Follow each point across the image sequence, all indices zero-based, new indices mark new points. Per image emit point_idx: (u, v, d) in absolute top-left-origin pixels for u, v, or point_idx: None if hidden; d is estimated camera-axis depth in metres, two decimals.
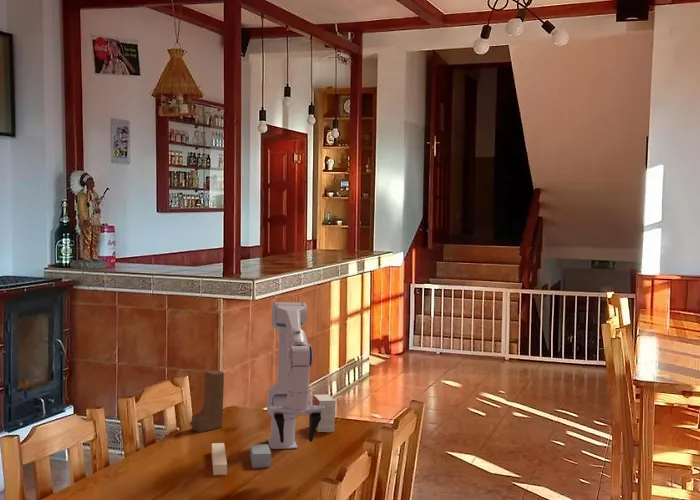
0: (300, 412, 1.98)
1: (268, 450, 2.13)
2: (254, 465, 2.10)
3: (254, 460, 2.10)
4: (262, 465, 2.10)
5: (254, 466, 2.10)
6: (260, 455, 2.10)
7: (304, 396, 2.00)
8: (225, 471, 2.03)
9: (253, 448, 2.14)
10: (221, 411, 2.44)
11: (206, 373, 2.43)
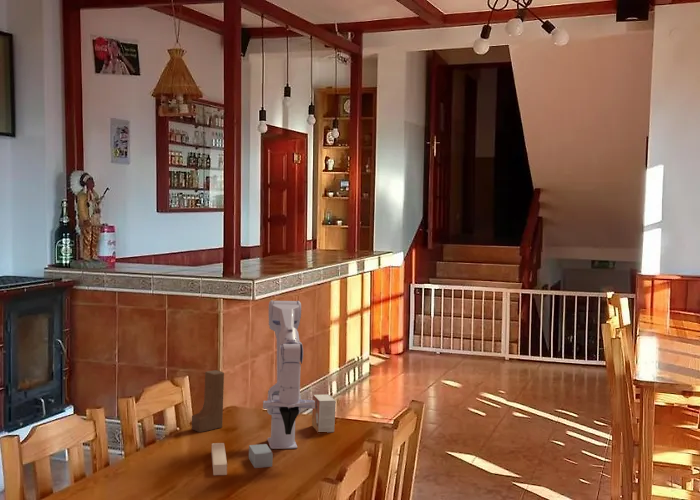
0: (291, 406, 2.11)
1: (268, 450, 2.13)
2: (256, 465, 2.10)
3: (256, 460, 2.09)
4: (264, 465, 2.10)
5: (256, 466, 2.10)
6: (262, 455, 2.10)
7: (295, 391, 2.12)
8: (225, 471, 2.03)
9: (253, 448, 2.14)
10: (221, 411, 2.44)
11: (206, 373, 2.43)
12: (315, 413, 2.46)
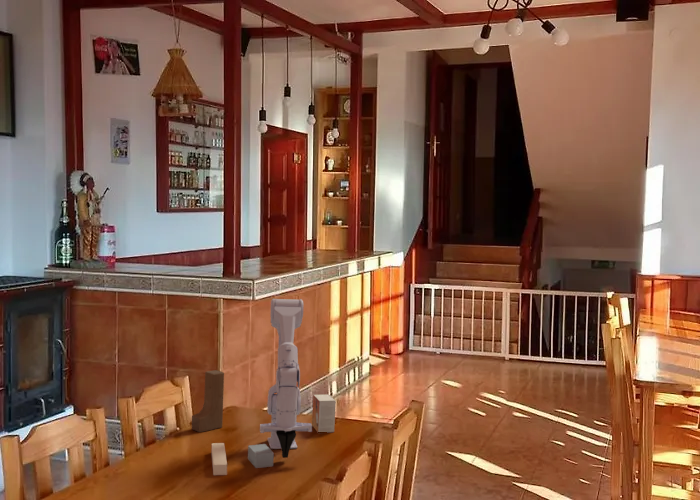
0: (288, 430, 2.11)
1: (269, 450, 2.13)
2: (257, 465, 2.10)
3: (257, 460, 2.09)
4: (265, 465, 2.10)
5: (257, 466, 2.10)
6: (263, 455, 2.10)
7: (292, 414, 2.12)
8: (225, 471, 2.03)
9: (253, 448, 2.14)
10: (221, 411, 2.44)
11: (206, 373, 2.43)
12: (315, 413, 2.46)
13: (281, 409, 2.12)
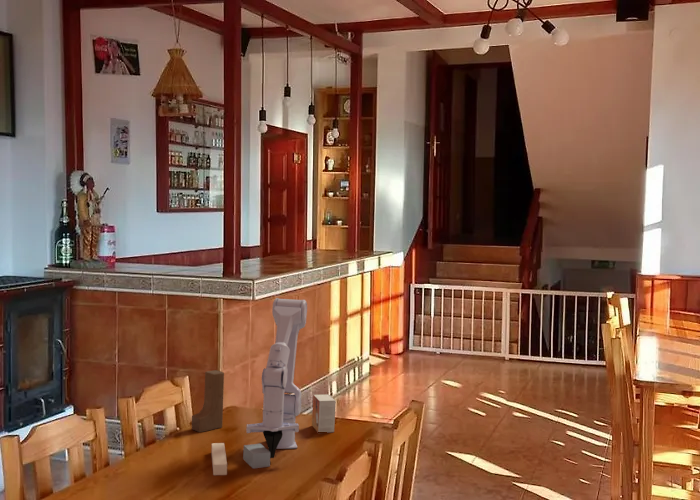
0: (275, 430, 2.10)
1: (265, 449, 2.13)
2: (254, 465, 2.09)
3: (254, 460, 2.09)
4: (262, 464, 2.10)
5: (254, 466, 2.09)
6: (260, 454, 2.10)
7: (279, 415, 2.12)
8: (225, 471, 2.03)
9: (249, 448, 2.13)
10: (221, 411, 2.44)
11: (206, 373, 2.43)
12: (315, 413, 2.46)
13: (266, 409, 2.12)
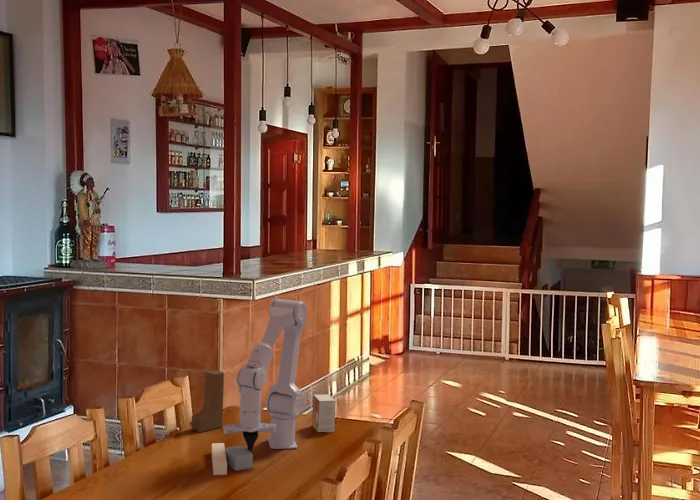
0: (252, 430, 2.09)
1: (247, 451, 2.11)
2: (237, 467, 2.07)
3: (237, 462, 2.07)
4: (244, 466, 2.08)
5: (237, 468, 2.07)
6: (242, 456, 2.07)
7: (256, 415, 2.10)
8: (225, 471, 2.03)
9: (231, 450, 2.11)
10: (221, 411, 2.44)
11: (206, 373, 2.43)
12: (315, 413, 2.46)
13: (240, 408, 2.11)
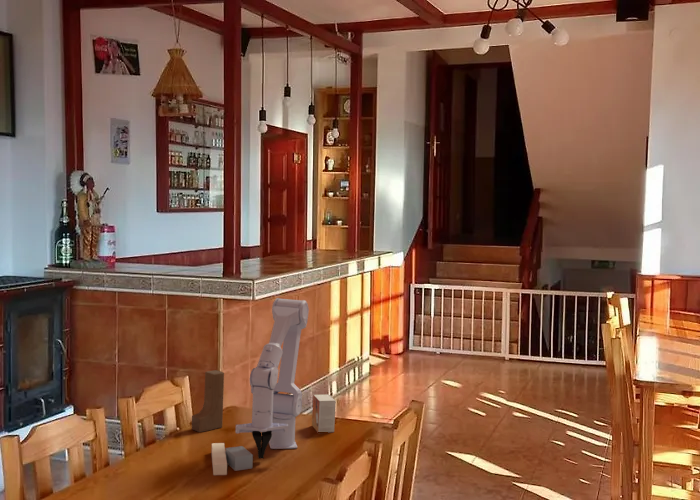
0: (264, 430, 2.10)
1: (247, 452, 2.10)
2: (236, 468, 2.07)
3: (236, 463, 2.07)
4: (244, 467, 2.08)
5: (236, 469, 2.07)
6: (242, 457, 2.07)
7: (268, 415, 2.11)
8: (225, 471, 2.03)
9: (231, 451, 2.11)
10: (221, 411, 2.44)
11: (206, 373, 2.43)
12: (315, 413, 2.46)
13: (253, 409, 2.11)
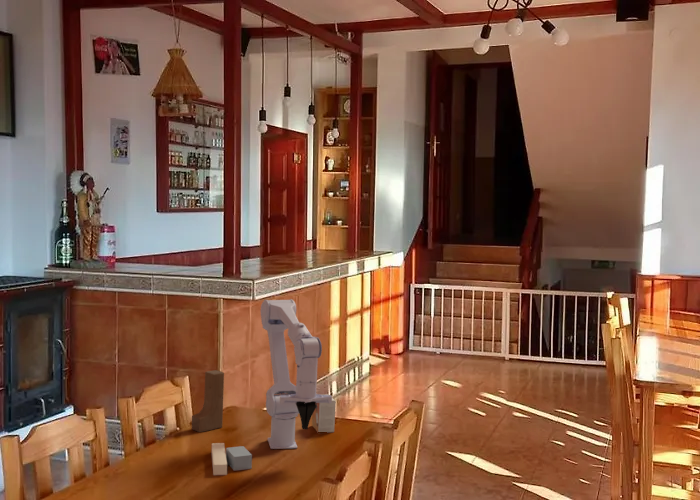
0: (309, 401, 2.10)
1: (247, 452, 2.10)
2: (235, 468, 2.07)
3: (235, 463, 2.07)
4: (243, 467, 2.08)
5: (235, 469, 2.07)
6: (241, 457, 2.07)
7: (312, 386, 2.12)
8: (225, 471, 2.03)
9: (231, 451, 2.11)
10: (221, 411, 2.44)
11: (206, 373, 2.43)
12: (315, 413, 2.46)
13: (304, 380, 2.11)
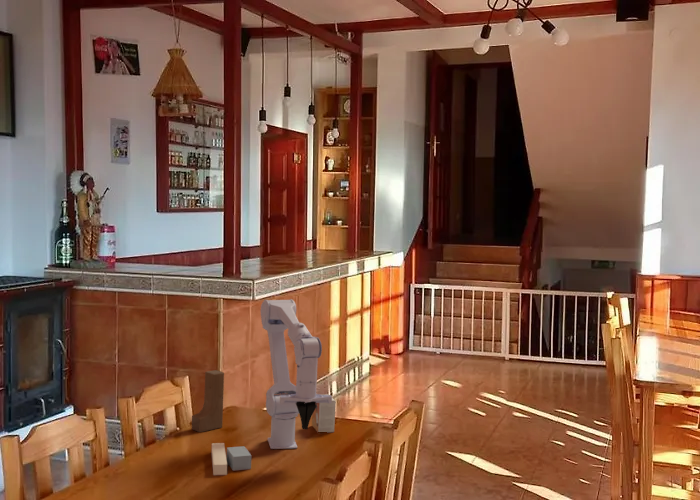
0: (309, 401, 2.10)
1: (247, 452, 2.10)
2: (234, 468, 2.07)
3: (234, 463, 2.07)
4: (242, 467, 2.08)
5: (234, 469, 2.07)
6: (240, 457, 2.07)
7: (312, 386, 2.12)
8: (225, 471, 2.03)
9: (231, 451, 2.11)
10: (221, 411, 2.44)
11: (206, 373, 2.43)
12: (315, 413, 2.46)
13: (304, 380, 2.11)
